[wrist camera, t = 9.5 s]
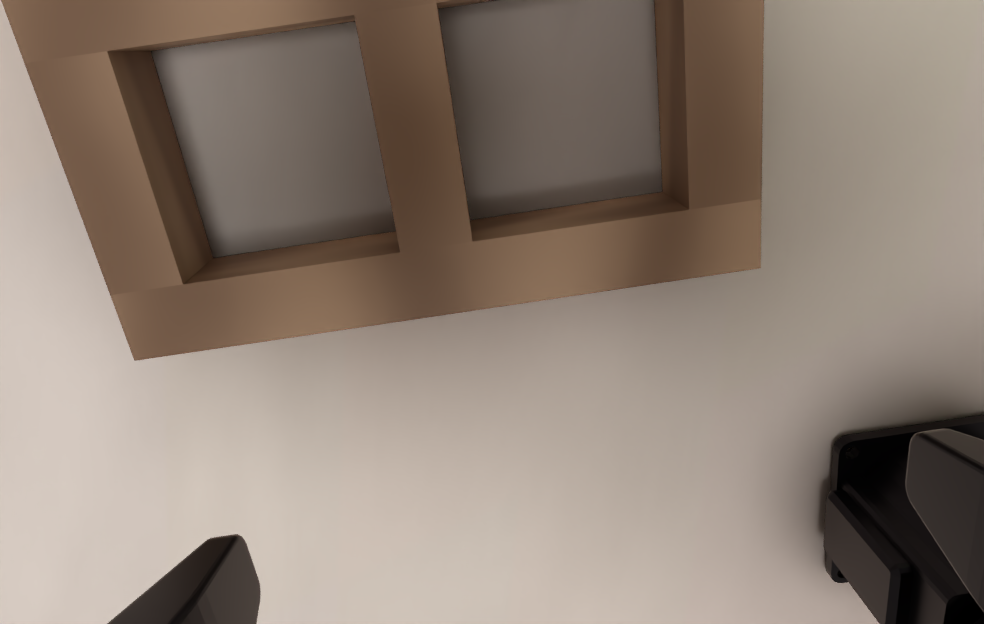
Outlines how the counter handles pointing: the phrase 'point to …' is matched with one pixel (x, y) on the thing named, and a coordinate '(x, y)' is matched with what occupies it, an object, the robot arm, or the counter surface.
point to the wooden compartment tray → (408, 170)
